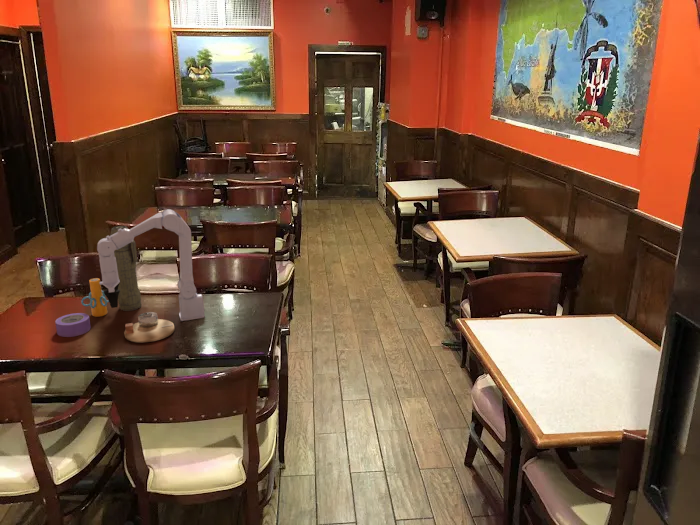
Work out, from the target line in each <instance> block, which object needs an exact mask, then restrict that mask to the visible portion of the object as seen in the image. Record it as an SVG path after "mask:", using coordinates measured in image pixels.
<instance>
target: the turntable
mask: <svg viewBox="0 0 700 525" xmlns="http://www.w3.org/2000/svg"><path fill="white" fill-rule="evenodd" d="M174 332H175V324H174V323H173V321H170V320H168V319H162V318H161V319H160V318H158V324H157V325H156V326H153V327H149V328H143V327H140V326H139V321H138V322H135V323H133V322H131V323H125V330H124V331H123V333H124V337H125V338H124V339H126V340H127V341H130V342H132V343H150V342H151V343H152V342H156V341H160V340H163V339H166V338H167V337H169V336H171V335H172V334H173V333H174Z"/></svg>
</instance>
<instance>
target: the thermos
mask: <svg viewBox="0 0 700 525" xmlns="http://www.w3.org/2000/svg"><path fill="white" fill-rule="evenodd" d="M120 228H121V229H124V228H126V229H129V228H128V226H126V225H116V226H113V227H112V228H111V230H110V235H109V236H111V235H113V234H115V233H117V232H118V230H119V229H120ZM114 255H115V258H116V263H117V270H118V277H119V280H120V283H119V286H118V289H120V293H119V295H118V305H119V310H120V309H121V310H120V311H122V310H123V311H124V312H132V311H136V310H139V309H140V308H141V307H142V302H141V301H142V297H141V296H142V295H141V291H140V289H139V285H138V277H137V276H138V275H137V269H136V268H137V262H138V254H137V244H136V241H135V240H133V242H131V243H129V244H127V245H125V246H123V247H122V248H120V249H118V250H115V251H114ZM138 308H139V309H138Z"/></svg>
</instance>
